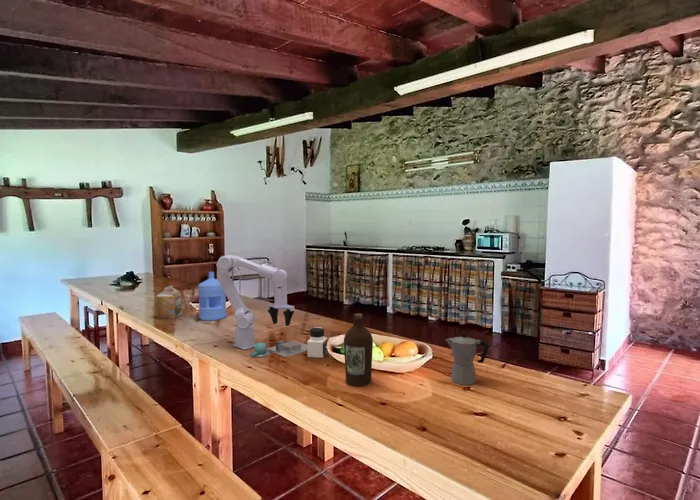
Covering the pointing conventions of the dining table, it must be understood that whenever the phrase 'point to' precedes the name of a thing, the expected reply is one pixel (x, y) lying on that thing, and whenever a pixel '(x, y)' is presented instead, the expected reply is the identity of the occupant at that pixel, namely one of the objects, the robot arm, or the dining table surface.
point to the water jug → (211, 299)
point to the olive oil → (358, 353)
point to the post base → (289, 353)
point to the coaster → (261, 355)
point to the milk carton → (169, 304)
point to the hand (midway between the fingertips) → (281, 324)
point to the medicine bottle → (317, 343)
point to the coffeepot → (465, 358)
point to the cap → (259, 349)
